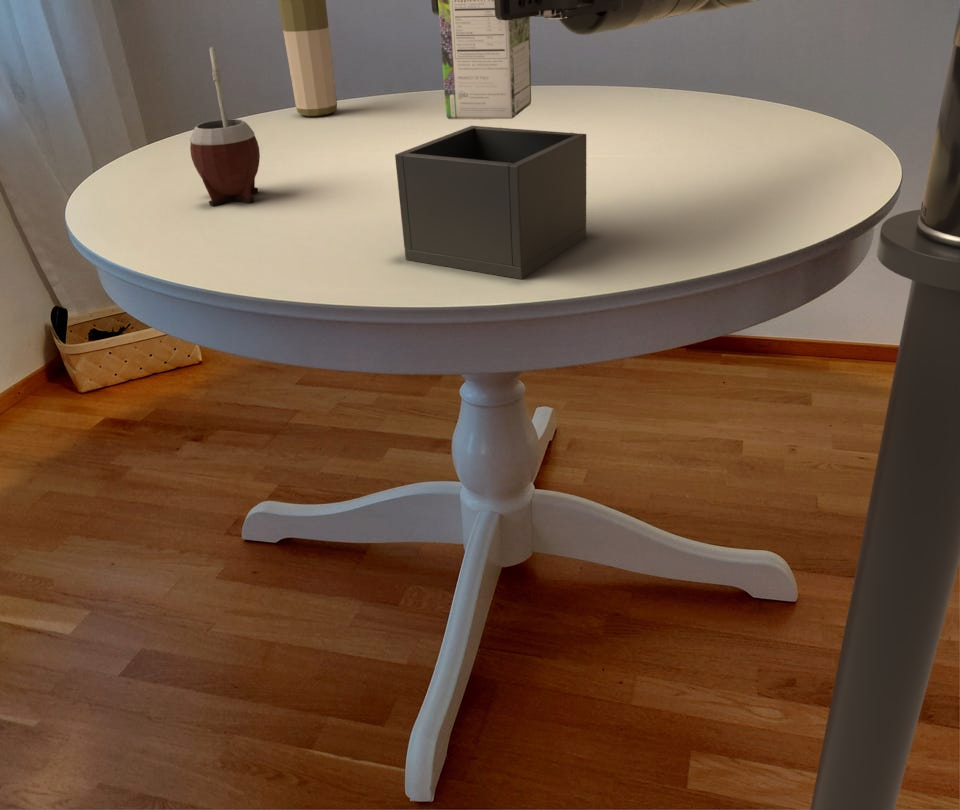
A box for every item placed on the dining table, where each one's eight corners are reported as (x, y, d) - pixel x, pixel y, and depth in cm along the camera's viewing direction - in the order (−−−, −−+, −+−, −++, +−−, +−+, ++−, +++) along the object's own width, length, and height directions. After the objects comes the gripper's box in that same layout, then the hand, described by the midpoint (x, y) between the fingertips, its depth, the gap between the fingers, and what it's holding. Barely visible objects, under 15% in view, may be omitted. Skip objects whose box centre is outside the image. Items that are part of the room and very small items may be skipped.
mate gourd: (228, 211, 92) (197, 59, 85) (184, 201, 97) (151, 56, 90) (283, 193, 97) (258, 49, 90) (238, 185, 102) (212, 46, 95)
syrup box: (467, 105, 75) (454, -89, 68) (534, 105, 73) (527, -94, 66) (445, 120, 71) (428, -86, 63) (516, 120, 69) (506, -92, 62)
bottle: (324, 108, 143) (295, -105, 129) (349, 112, 138) (321, -108, 124) (286, 115, 139) (252, -104, 125) (311, 120, 134) (278, -107, 120)
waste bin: (586, 236, 79) (586, 133, 74) (521, 279, 70) (517, 166, 66) (477, 221, 84) (471, 125, 80) (405, 259, 76) (394, 154, 72)
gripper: (560, -67, 78) (407, -52, 70) (684, -71, 68) (522, -54, 60) (561, 24, 82) (416, 48, 74) (679, 33, 72) (526, 62, 64)
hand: (464, 2), depth 67 cm, fingers closed on syrup box, 7 cm apart
